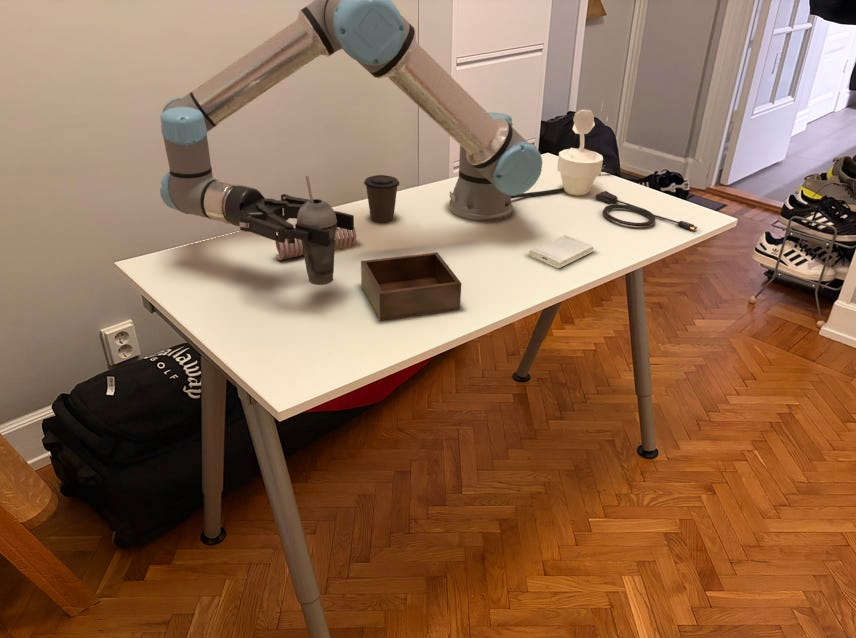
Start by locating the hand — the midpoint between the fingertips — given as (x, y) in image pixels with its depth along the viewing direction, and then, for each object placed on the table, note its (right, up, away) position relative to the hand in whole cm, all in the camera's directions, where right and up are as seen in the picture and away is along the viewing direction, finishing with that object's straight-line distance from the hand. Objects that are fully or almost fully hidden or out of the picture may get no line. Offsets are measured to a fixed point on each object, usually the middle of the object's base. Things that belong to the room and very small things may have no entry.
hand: (340, 230), depth 128 cm
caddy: (+11, -11, +11) cm, 19 cm away
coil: (-9, 0, +26) cm, 27 cm away
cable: (+64, +12, +50) cm, 82 cm away
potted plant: (+52, +22, +64) cm, 85 cm away
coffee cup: (+3, +10, +42) cm, 43 cm away
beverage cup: (-5, -8, +8) cm, 12 cm away
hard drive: (+43, 0, +31) cm, 53 cm away
